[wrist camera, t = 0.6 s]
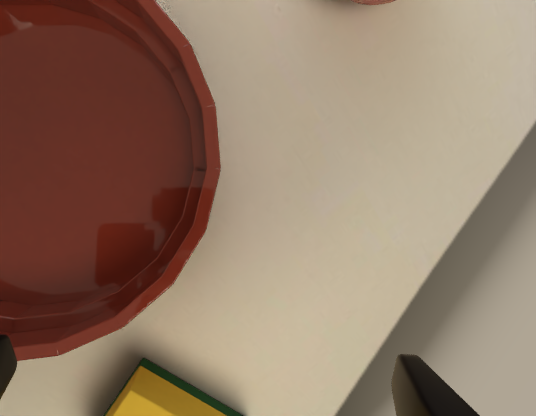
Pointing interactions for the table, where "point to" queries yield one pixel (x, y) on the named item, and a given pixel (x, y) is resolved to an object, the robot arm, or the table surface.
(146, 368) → the sponge
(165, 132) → the wash bowl
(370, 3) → the apple
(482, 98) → the table surface
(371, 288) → the table surface
